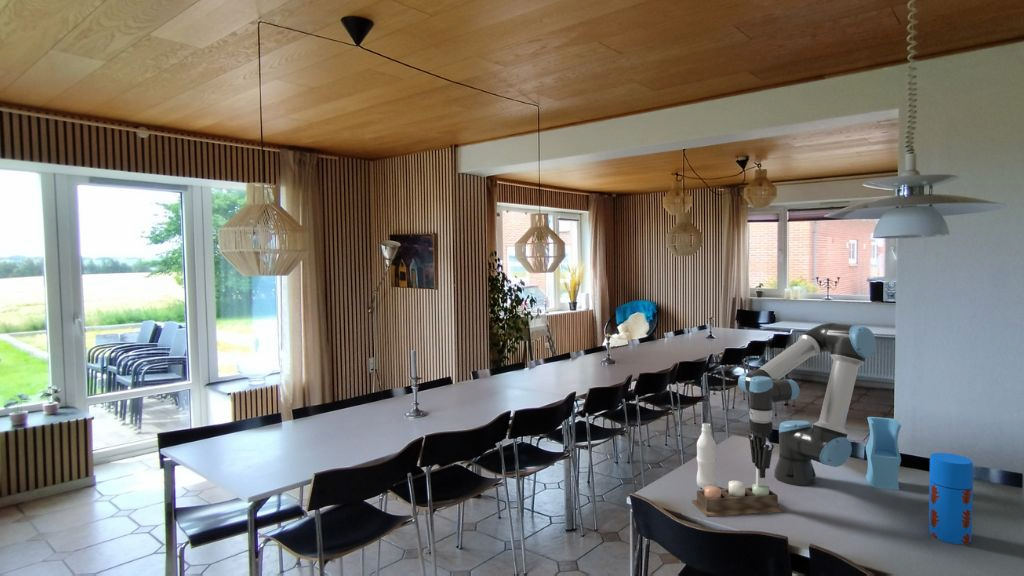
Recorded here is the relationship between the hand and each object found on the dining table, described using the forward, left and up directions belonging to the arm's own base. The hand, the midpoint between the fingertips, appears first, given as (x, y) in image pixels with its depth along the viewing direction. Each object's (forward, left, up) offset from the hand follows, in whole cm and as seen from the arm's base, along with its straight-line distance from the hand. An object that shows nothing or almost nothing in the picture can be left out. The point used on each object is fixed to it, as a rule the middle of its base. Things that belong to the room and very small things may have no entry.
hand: (760, 485), depth 206 cm
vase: (-57, -12, -8) cm, 59 cm away
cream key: (+9, 0, -4) cm, 10 cm away
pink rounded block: (+18, 0, -5) cm, 19 cm away
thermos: (-46, +30, -8) cm, 55 cm away
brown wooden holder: (+9, 0, -7) cm, 12 cm away
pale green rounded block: (0, 0, -5) cm, 5 cm away
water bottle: (+12, -18, -8) cm, 23 cm away
